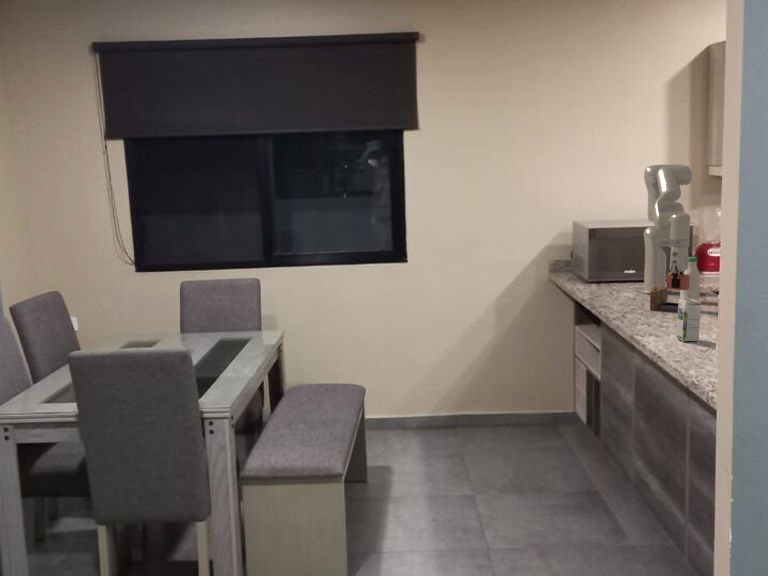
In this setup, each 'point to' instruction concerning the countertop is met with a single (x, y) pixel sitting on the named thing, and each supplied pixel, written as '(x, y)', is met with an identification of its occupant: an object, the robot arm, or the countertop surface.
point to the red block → (683, 282)
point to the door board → (657, 297)
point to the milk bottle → (692, 281)
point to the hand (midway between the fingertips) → (677, 286)
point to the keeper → (669, 306)
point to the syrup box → (688, 319)
